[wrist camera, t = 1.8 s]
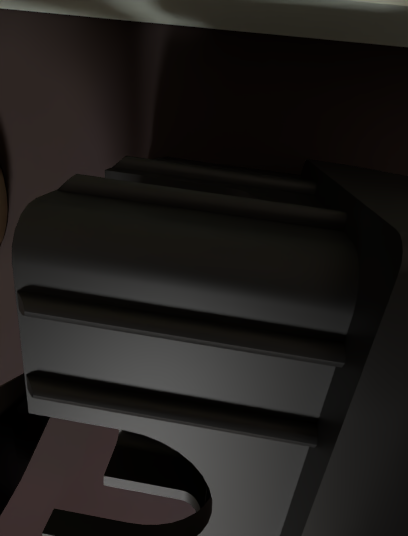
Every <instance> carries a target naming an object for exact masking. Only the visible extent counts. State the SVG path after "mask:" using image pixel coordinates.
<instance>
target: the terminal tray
mask: <svg viewBox="0 0 408 536" xmlns="http://www.w3.org/2000/svg"><path fill="white" fill-rule="evenodd" d="M0 8H2V9H13V10H23V11H33V12H44V13H54V14H65V15H75V16H86V17H96V18H106V19H117V20H127V21H138V22H148V23H159V24H169V25H179V26H190V27H200V28H211V29H221V30H232V31H242V32H253V33H263V34H273V35H284V36H294V37H305V38H315V39H326V40H336V41H346V42H357V43H367V44H378V45H388V46H399V47H408V0H0Z"/></svg>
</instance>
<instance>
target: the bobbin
mask: <svg viewBox="0 0 408 536" xmlns="http://www.w3.org/2000/svg"><path fill="white" fill-rule="evenodd" d="M7 212H8V206H7V193H6V187H5V182H4V177H3V174H2V170H1V167H0V245H1V243H2V240H3V237H4V233H5V229H6V224H7Z"/></svg>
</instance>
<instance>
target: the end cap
mask: <svg viewBox="0 0 408 536" xmlns="http://www.w3.org/2000/svg"><path fill="white" fill-rule="evenodd" d="M12 266H13V275H14V284H15V293H16V302H17V311H18V320H19V329H20V338H21V347H22V357H23V366H24V375H25V384H26V393H27V402H28V411H29V413H31V414H36V415H42V416H48V417H53V418H59V419H64V420H70V421H76V422H81V423H87V424H92V425H98V426H104V427H109V428H115V429H119V436H118V440H117V444H116V446H115V449H114V451H113V454H112V457H111V459H110V462H109V464H108V467H107V469H106V472H105V474H104V485H105V486H111V487H116V488H121V489H126V490H132V491H137V492H142V493H148V494H153V495H158V496H164V497H169V498H174V499H180V500H183V501H186V502H188V503H189V504H190V505H192V507H193V508H194V509H195V510H196V513H195V514H193V515H191V516H189V517H187V518H185V519H183V520H179V521H176V522H173V523H167V524H160V525H141V524H133V523H126V522H121V521H116V520H111V519H105V518H100V517H95V516H90V515H85V514H80V513H74V512H69V511H64V510H59V509H54V510H53V512H52V514H51V516H50V518H49V520H48V522H47V524H46V526H45V528H44V530H43V532H42V536H408V176H403V175H398V174H393V173H388V172H383V171H378V170H372V169H366V168H361V167H355V166H349V165H343V164H337V163H330V162H323V161H316V160H309V159H306V161H305V163H304V166H303V169H302V174H301V175H295V174H289V173H282V172H274V171H267V170H259V169H252V168H245V167H237V166H230V165H223V164H215V163H208V162H201V161H193V160H186V159H178V158H171V157H162V158H155V159H154V160H152V159H145V158H137V157H130V156H126V157H124V158H123V159H122V160H120V161H119V162H118V163H117V164H116V165H115V166H114V167H112V168H109V169H107V170H105V178H102V177H94V176H87V175H80V174H76V175H74V176H73V177H71V178H70V179H69V180H67V181H66V182H65V183H64V184H63V185H62V186H61V187H60V188H59V189H57V190H55V191H52V192H50V193H48V194H45V195H43V196H40V197H38V198H36V199H35V200H33V201H32V202H30V203H29V204H28V205H27V207H26V208H25V210H24V211H23V212H22V214H21V216H20V218H19V221H18V223H17V226H16V228H15V233H14V238H13V244H12Z"/></svg>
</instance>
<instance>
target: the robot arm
mask: <svg viewBox="0 0 408 536" xmlns="http://www.w3.org/2000/svg"><path fill="white" fill-rule="evenodd" d="M49 418H50V417H48V416H42V415H36V414H31V413H29V411H28V402H27V393H26V384H25V375H24V373H23V374H21V375H20V376H18V377H16V378H14V379H12V380H10V381H8V382H6V383H5V384H3V385H1V386H0V515H1V514H2V512H3V510H4V508H5V507H6V505H7V503H8V502H9V500H10V498H11V496H12V495H13V493H14V491H15V489H16V488H17V486H18V484H19V482H20V480H21V478H22V476H23V474H24V472H25V470H26V468H27V466H28V464H29V462H30V460H31V457H32V455H33V453H34V451H35V449H36V447H37V444H38V442H39V440H40V438H41V436H42V433H43V431H44V429H45V427H46V425H47V423H48V420H49Z"/></svg>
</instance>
